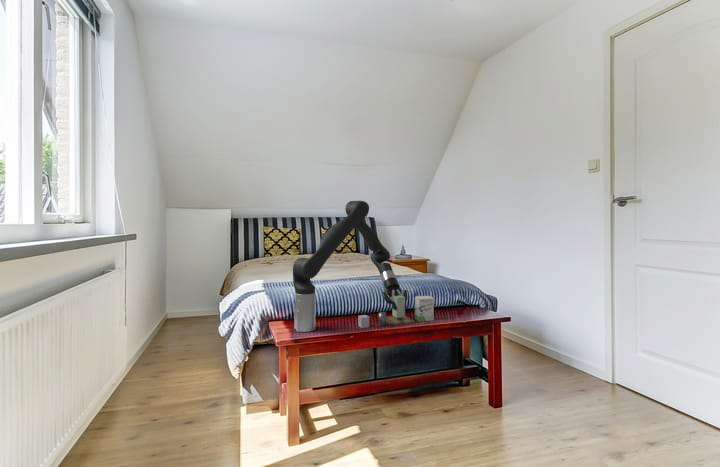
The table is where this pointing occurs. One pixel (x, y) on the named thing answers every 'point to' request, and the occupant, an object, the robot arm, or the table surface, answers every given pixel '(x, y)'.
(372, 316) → the table surface
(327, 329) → the table surface
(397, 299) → the sage block
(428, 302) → the ink box
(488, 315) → the table surface
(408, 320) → the walnut board
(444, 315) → the table surface
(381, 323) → the metal cylinder
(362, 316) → the grey block
